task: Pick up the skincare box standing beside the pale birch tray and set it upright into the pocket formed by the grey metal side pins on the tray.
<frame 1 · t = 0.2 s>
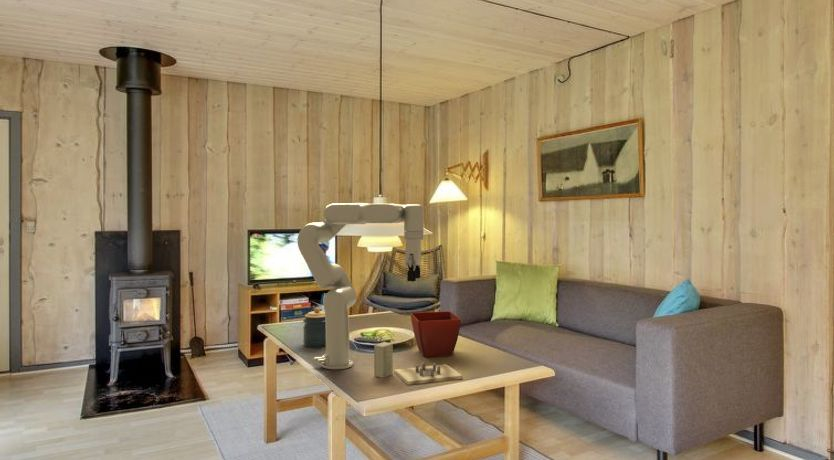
hand: (413, 279, 210), 36 cm above the table, tool pointing down, fingers open, 9 cm apart
plant pot: (434, 353, 239), on the table
canister: (317, 345, 254), on the table
skincare box: (383, 375, 206), on the table
pin tray: (427, 375, 206), on the table
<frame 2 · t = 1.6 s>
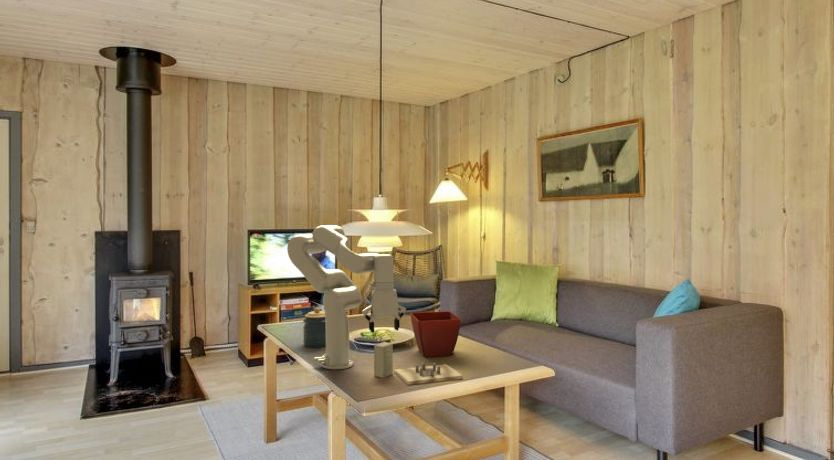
hand: (384, 330, 205), 17 cm above the table, tool pointing down, fingers open, 9 cm apart
nothing on the table moved.
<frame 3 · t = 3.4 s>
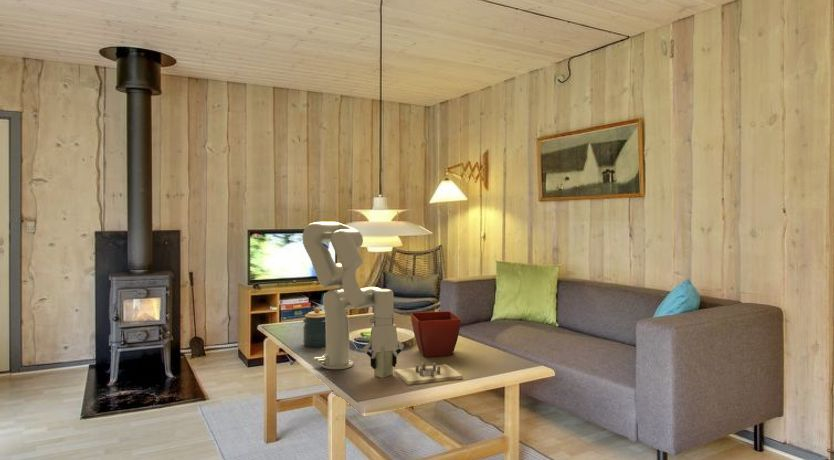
hand: (383, 366, 206), 3 cm above the table, tool pointing down, fingers closed on skincare box, 7 cm apart
skincare box: (383, 375, 206), on the table, touching gripper
everything else where it was.
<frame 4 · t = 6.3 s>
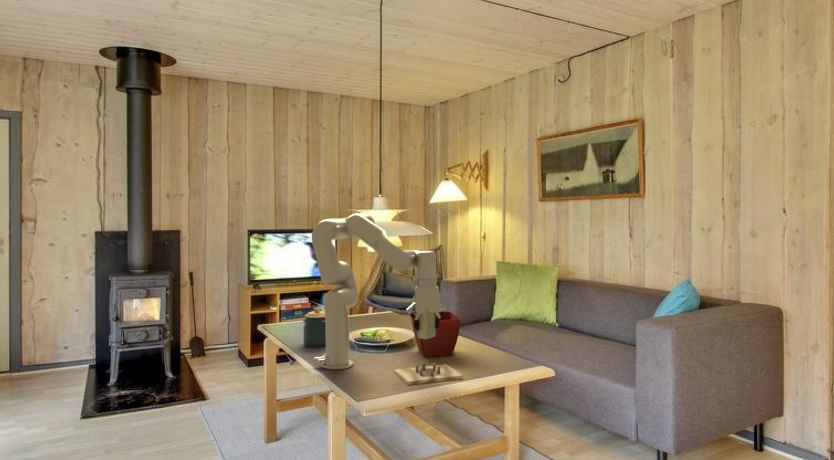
hand: (426, 328, 205), 18 cm above the table, tool pointing down, fingers closed on skincare box, 7 cm apart
skincare box: (426, 337, 205), point 15 cm above the table, touching gripper
everything else where it was.
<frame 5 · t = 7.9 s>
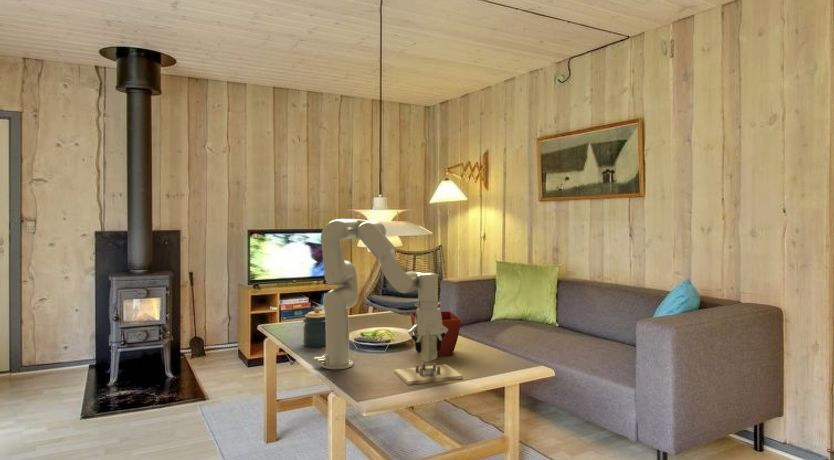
hand: (428, 350, 205), 10 cm above the table, tool pointing down, fingers closed on skincare box, 7 cm apart
skincare box: (428, 359, 205), point 6 cm above the table, touching gripper
everything else where it was.
when the fingers open (6 cm above the table, at t = 9.2 s): skincare box drops 1 cm, resting on pin tray.
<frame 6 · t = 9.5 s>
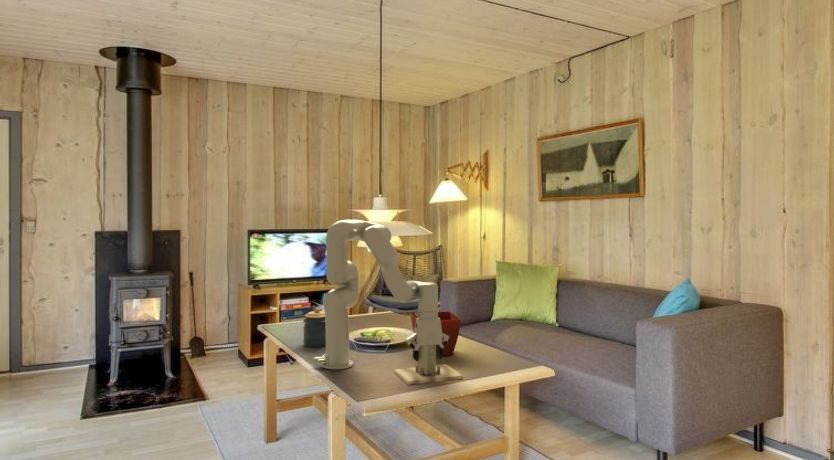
hand: (427, 359, 206), 6 cm above the table, tool pointing down, fingers open, 9 cm apart
skincare box: (427, 372, 206), point 1 cm above the table, touching pin tray
everything else where it was.
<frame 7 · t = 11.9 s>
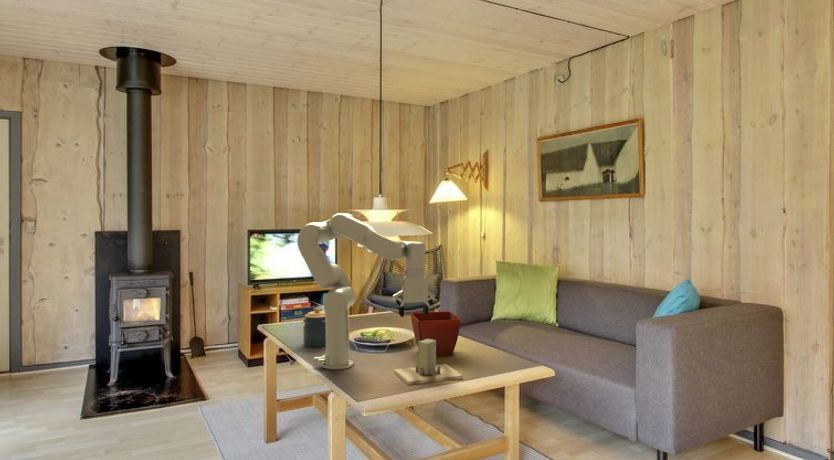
hand: (413, 316, 212), 22 cm above the table, tool pointing down, fingers open, 9 cm apart
nothing on the table moved.
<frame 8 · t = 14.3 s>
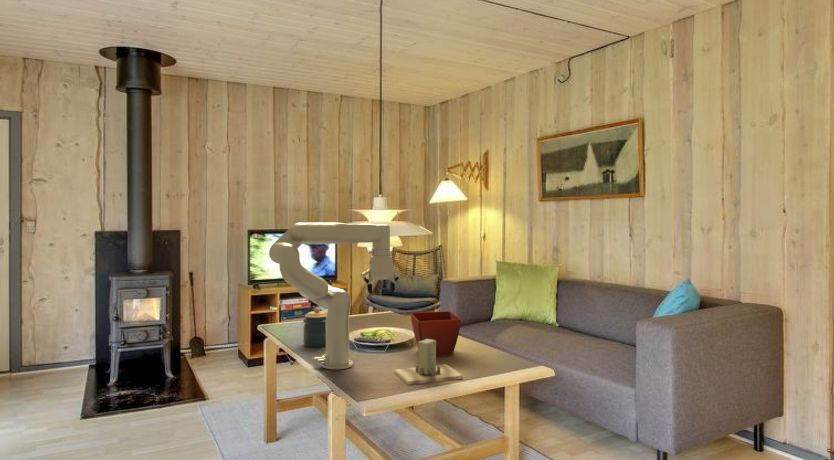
hand: (381, 292, 230), 28 cm above the table, tool pointing down, fingers open, 9 cm apart
nothing on the table moved.
at the end: skincare box 0.4 cm off-centre on the pin tray, point 1.1 cm above the pin tray's base; skincare box tilted 0°; the gripper is holding nothing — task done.
